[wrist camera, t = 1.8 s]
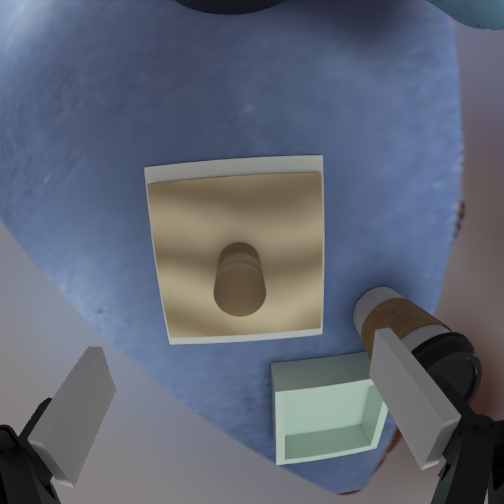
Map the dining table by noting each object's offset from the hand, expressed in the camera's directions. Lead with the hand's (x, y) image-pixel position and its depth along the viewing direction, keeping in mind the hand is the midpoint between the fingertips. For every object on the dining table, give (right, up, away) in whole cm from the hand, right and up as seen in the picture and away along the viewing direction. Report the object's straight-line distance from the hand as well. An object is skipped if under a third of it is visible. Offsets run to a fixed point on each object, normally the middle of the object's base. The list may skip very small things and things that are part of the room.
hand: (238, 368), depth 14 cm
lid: (-1, +5, +16) cm, 16 cm away
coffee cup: (+14, -1, +19) cm, 24 cm away
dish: (+10, -13, +22) cm, 27 cm away
